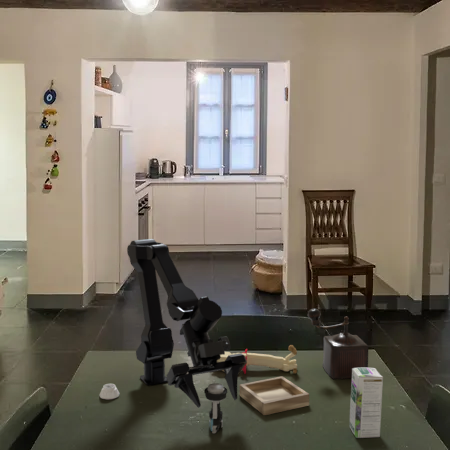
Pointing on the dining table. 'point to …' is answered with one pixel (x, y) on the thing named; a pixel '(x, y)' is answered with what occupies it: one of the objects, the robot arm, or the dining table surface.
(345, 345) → the manual coffee grinder
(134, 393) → the dining table surface
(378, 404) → the syrup box
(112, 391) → the small white bowl
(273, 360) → the cat figure
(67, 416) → the dining table surface
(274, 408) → the oak tray
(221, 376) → the dining table surface
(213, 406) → the push button
